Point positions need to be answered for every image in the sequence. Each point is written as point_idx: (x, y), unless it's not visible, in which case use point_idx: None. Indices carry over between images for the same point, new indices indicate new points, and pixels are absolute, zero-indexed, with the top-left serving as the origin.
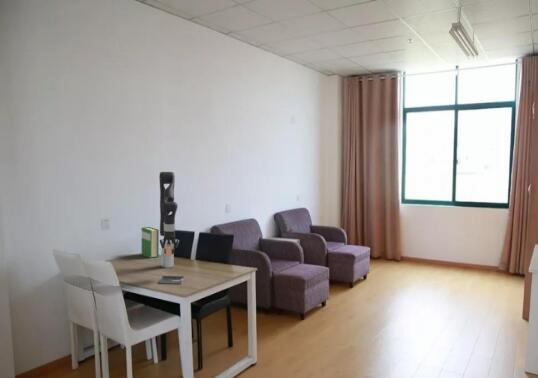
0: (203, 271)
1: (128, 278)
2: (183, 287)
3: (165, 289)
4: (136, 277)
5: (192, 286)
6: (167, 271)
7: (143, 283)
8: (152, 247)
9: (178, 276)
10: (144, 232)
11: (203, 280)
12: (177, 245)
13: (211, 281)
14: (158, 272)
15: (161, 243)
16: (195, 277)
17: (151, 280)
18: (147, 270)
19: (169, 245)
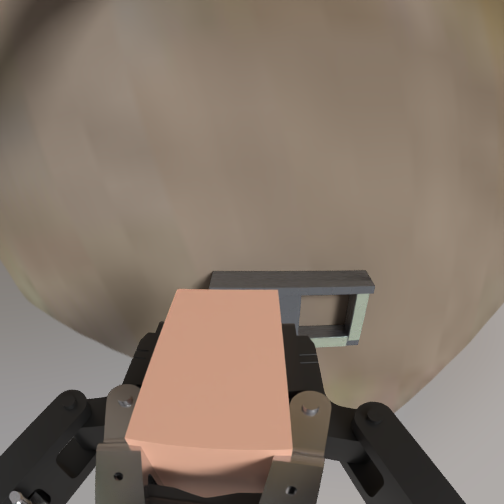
0: (465, 41)
1: (15, 252)
2: (363, 376)
3: None
4: (36, 229)
5: (405, 358)
6: (178, 32)
7: (130, 336)
8: None
9: (334, 294)
10: None
11: (469, 259)
12: (410, 449)
13: (497, 272)
14: (114, 76)
15: (56, 496)
16: (434, 195)
17: (144, 283)
18: (33, 53)
19: (220, 485)
